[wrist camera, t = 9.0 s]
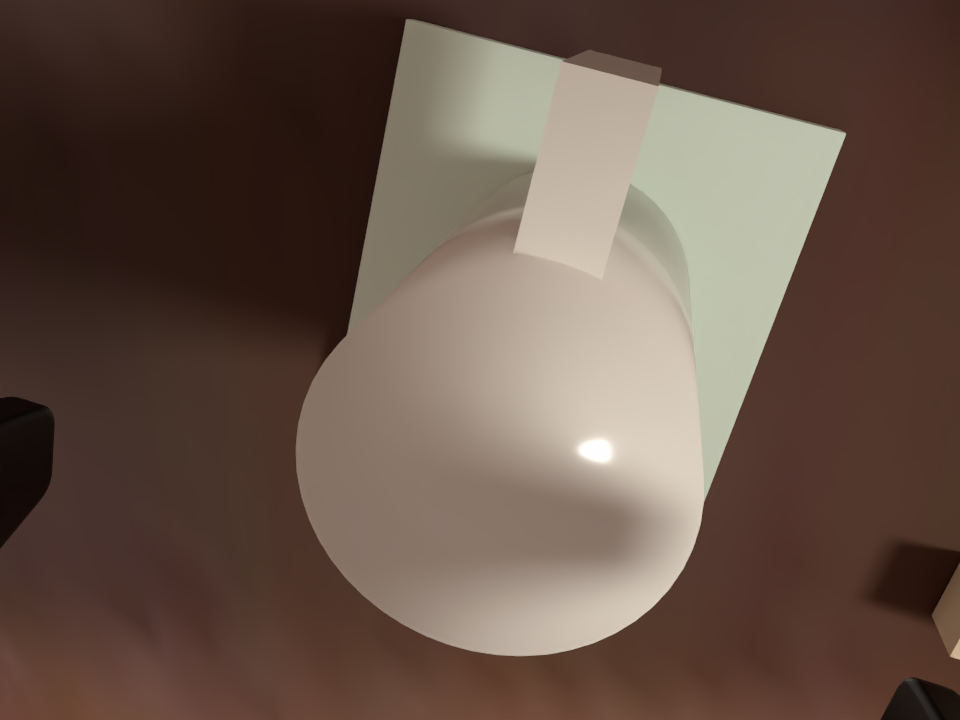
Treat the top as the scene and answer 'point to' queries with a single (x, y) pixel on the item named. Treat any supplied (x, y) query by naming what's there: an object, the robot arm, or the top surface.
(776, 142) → the sage coaster
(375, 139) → the top surface
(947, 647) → the oak cradle
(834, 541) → the top surface
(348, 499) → the cream jug
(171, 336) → the top surface
